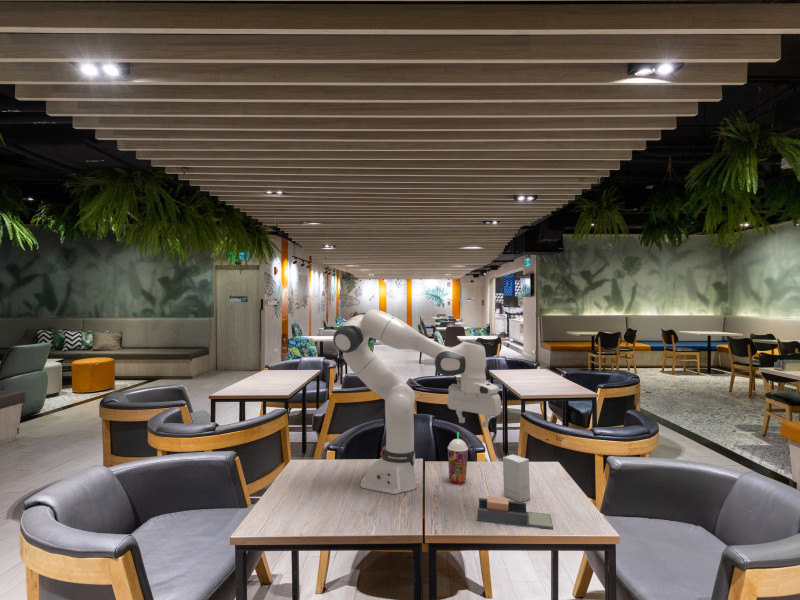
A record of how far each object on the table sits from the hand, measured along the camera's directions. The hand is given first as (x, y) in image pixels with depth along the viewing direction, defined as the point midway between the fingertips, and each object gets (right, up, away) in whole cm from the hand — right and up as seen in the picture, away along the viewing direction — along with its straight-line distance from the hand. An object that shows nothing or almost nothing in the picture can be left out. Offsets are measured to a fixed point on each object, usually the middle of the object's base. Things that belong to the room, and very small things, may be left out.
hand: (473, 424), depth 164 cm
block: (+7, -29, -8) cm, 31 cm away
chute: (+12, -29, -9) cm, 33 cm away
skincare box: (+17, -30, +8) cm, 35 cm away
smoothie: (-3, -30, +23) cm, 37 cm away
